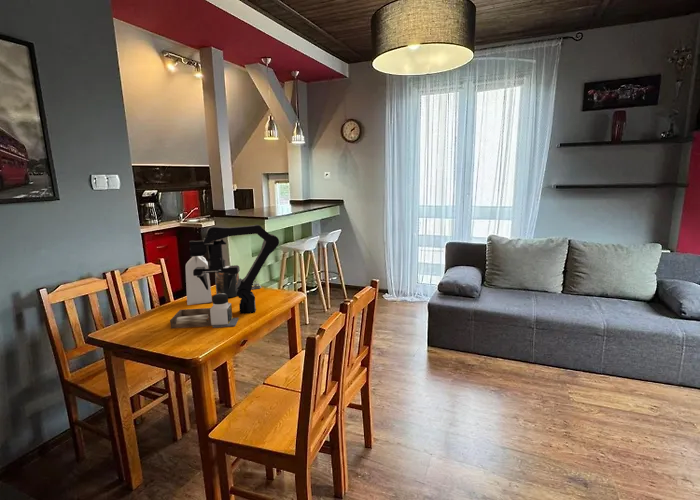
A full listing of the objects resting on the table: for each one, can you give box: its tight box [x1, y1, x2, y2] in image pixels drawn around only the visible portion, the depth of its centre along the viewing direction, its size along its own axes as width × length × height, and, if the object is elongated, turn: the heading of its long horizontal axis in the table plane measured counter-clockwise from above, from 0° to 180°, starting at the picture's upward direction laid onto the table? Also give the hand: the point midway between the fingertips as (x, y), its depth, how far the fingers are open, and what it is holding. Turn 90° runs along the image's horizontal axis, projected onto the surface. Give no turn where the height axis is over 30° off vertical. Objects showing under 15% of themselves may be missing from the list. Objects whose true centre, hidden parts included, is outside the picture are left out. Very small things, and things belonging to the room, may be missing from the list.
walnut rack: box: [169, 307, 213, 329], centre depth 160 cm, size 16×13×4 cm
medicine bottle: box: [210, 293, 233, 326], centre depth 157 cm, size 7×7×12 cm
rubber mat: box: [212, 317, 239, 329], centre depth 158 cm, size 9×9×1 cm
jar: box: [214, 265, 240, 299], centre depth 198 cm, size 12×12×15 cm
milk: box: [185, 256, 213, 306], centre depth 188 cm, size 12×12×26 cm
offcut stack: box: [176, 314, 209, 324], centre depth 156 cm, size 12×2×4 cm, turn 105°
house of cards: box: [251, 277, 262, 291], centre depth 212 cm, size 9×9×8 cm
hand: (218, 289), depth 166 cm, fingers open, 9 cm apart
